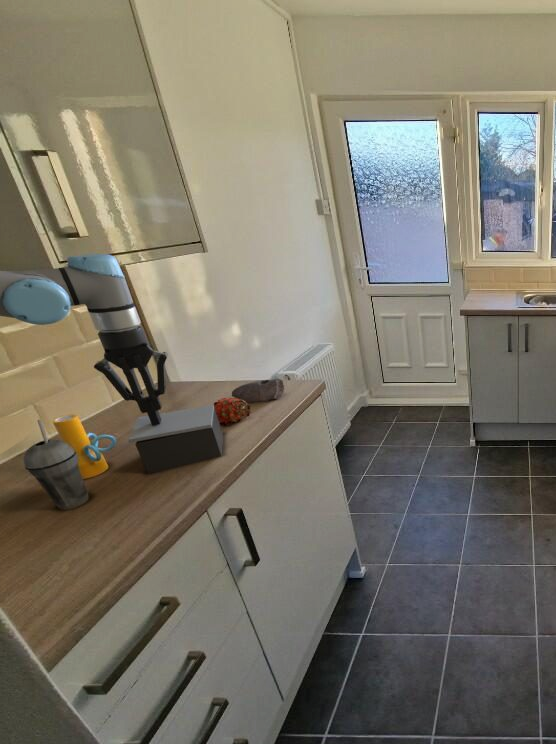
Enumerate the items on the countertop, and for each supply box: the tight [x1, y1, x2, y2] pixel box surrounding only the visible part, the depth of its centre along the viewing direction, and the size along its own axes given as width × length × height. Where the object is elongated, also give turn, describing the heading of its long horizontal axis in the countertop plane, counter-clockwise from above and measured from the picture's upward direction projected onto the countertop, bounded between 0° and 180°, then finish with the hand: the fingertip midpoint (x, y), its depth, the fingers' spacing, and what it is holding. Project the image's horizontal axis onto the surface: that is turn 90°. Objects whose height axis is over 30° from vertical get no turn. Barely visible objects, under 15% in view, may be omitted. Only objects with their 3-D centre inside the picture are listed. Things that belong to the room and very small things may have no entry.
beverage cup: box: [23, 419, 90, 511], centre depth 84 cm, size 7×7×20 cm
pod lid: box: [127, 404, 214, 444], centre depth 102 cm, size 16×13×1 cm
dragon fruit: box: [213, 396, 252, 426], centre depth 120 cm, size 8×8×12 cm
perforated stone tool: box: [231, 378, 285, 404], centre depth 133 cm, size 15×5×7 cm, turn 107°
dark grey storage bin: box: [135, 408, 224, 475], centre depth 104 cm, size 15×13×9 cm
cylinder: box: [51, 413, 117, 480], centre depth 95 cm, size 12×10×15 cm
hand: (156, 422), depth 100 cm, fingers closed
